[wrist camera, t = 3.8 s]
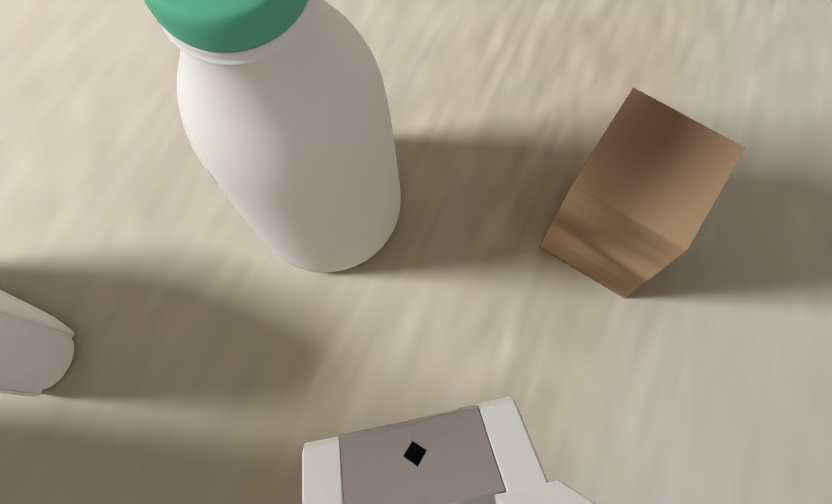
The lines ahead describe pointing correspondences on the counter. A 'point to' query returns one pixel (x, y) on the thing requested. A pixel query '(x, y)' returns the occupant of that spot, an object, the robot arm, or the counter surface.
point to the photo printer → (31, 348)
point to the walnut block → (640, 195)
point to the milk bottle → (289, 123)
